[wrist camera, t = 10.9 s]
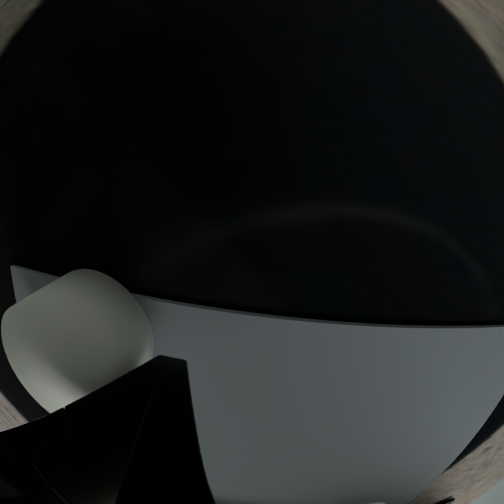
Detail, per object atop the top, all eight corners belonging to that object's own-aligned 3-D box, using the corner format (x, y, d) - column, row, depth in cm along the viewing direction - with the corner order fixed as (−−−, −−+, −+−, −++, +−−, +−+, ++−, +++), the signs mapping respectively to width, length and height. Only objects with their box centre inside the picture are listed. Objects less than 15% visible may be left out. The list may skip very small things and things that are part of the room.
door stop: (151, 279, 8) (100, 327, 5) (159, 389, 9) (132, 449, 6) (45, 261, 8) (-13, 290, 5) (65, 361, 9) (27, 403, 6)
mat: (536, 322, 8) (538, 324, 8) (389, 516, 13) (390, 518, 13) (13, 264, 8) (10, 265, 8) (105, 496, 14) (104, 498, 13)
